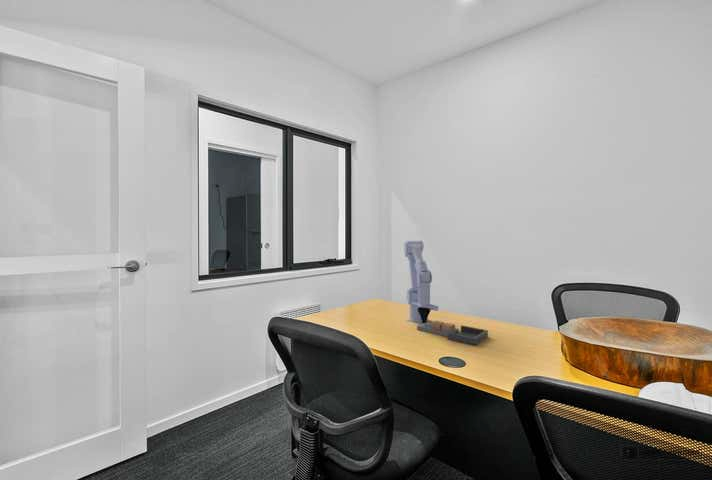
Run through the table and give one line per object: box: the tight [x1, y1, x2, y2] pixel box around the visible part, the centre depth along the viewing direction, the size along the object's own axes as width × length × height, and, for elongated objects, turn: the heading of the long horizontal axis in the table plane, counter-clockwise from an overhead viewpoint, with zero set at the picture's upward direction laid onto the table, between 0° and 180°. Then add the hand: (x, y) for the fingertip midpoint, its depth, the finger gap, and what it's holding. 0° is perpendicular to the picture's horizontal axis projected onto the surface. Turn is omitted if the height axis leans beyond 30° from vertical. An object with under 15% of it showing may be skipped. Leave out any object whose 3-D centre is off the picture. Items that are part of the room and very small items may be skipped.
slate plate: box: [416, 321, 460, 338], centre depth 160 cm, size 8×18×2 cm, turn 49°
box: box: [447, 325, 489, 346], centre depth 150 cm, size 15×12×3 cm
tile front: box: [442, 322, 456, 332], centre depth 156 cm, size 4×4×2 cm
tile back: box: [431, 320, 445, 329], centre depth 159 cm, size 4×4×2 cm
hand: (424, 322), depth 164 cm, fingers closed
